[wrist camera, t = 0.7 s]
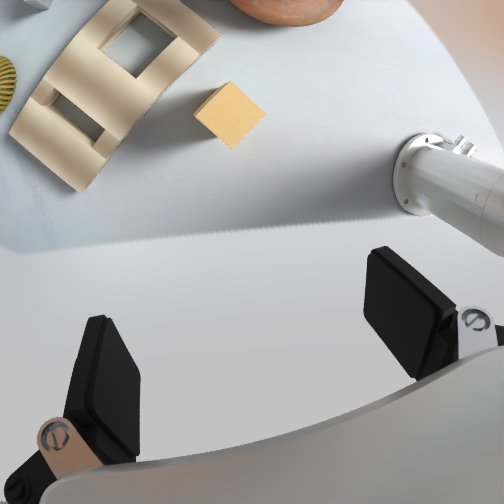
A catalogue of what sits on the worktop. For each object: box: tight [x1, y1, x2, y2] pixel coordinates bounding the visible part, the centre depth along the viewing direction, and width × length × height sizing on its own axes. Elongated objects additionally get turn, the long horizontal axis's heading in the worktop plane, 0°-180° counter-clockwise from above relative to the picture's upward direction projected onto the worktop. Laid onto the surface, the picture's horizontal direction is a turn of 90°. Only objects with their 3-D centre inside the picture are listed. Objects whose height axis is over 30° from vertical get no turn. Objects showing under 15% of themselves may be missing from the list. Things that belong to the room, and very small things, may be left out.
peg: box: [193, 81, 266, 149], centre depth 27 cm, size 4×4×10 cm
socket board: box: [9, 0, 221, 194], centre depth 26 cm, size 22×12×3 cm, turn 135°
